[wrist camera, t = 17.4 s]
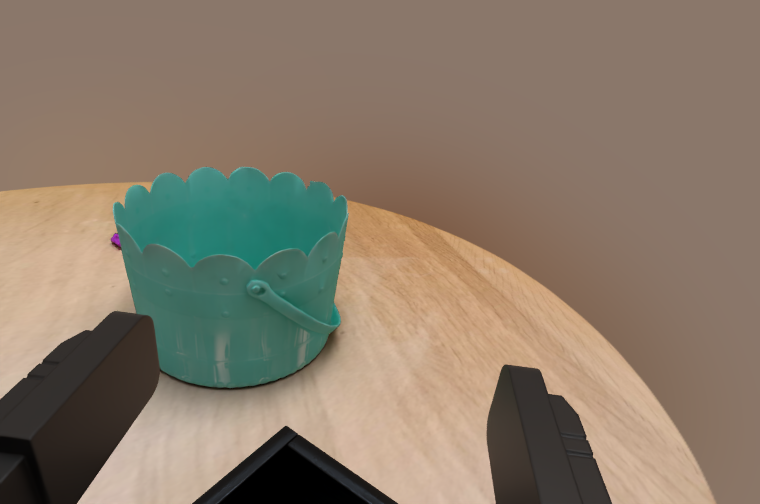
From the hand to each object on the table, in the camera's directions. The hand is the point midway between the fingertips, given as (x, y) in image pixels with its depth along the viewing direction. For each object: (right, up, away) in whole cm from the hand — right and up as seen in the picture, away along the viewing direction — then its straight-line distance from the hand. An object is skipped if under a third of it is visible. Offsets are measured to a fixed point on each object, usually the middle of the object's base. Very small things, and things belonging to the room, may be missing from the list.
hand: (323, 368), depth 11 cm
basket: (-12, -5, +35) cm, 37 cm away
